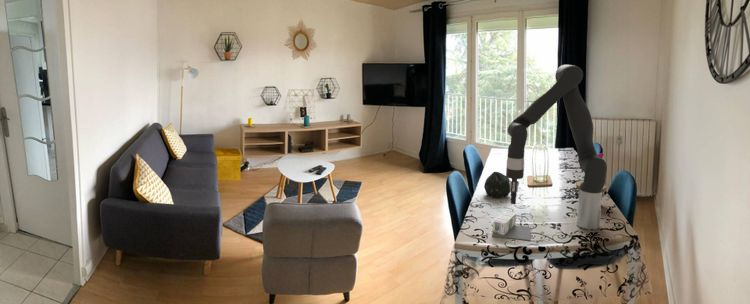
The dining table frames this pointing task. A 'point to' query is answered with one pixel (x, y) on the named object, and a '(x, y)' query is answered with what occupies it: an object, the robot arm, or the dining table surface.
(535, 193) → the dining table surface
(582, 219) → the robot arm
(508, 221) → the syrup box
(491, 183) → the squash
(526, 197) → the dining table surface
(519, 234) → the mat
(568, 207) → the dining table surface
